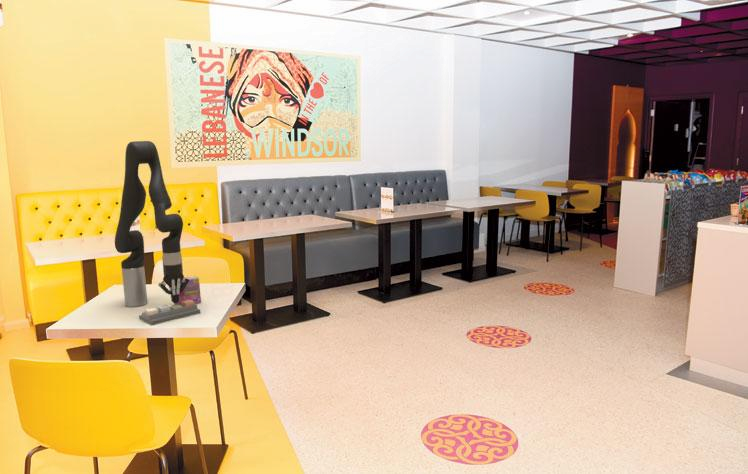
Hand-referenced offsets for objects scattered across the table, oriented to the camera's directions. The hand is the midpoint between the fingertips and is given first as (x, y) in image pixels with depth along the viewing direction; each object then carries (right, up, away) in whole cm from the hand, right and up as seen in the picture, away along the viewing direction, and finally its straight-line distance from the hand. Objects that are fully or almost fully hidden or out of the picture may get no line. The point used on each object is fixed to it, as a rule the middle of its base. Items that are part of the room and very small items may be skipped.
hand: (175, 302), depth 234 cm
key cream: (-7, -4, -7) cm, 11 cm away
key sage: (0, -3, 0) cm, 3 cm away
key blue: (-3, -3, -3) cm, 6 cm away
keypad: (-2, -5, -1) cm, 6 cm away
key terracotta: (+4, -2, +4) cm, 6 cm away
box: (0, -3, +17) cm, 17 cm away
